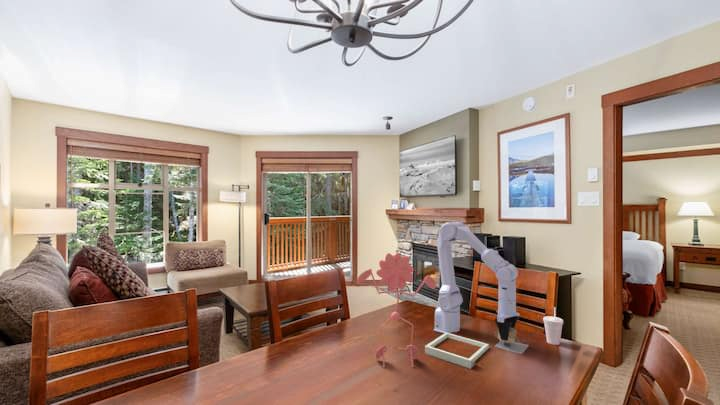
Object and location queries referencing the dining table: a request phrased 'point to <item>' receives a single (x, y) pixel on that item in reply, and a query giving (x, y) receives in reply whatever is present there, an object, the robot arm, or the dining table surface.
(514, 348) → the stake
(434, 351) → the tray
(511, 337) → the collar
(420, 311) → the dining table surface
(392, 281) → the figurine
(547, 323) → the smoothie
